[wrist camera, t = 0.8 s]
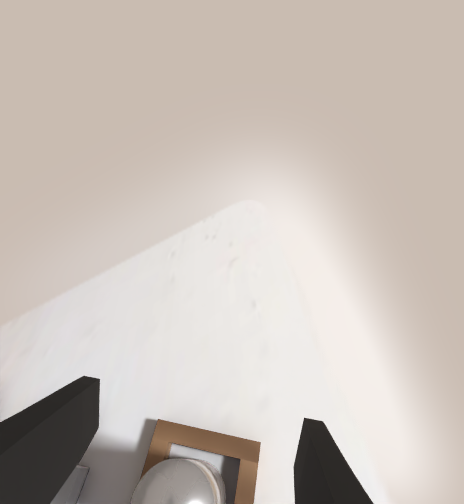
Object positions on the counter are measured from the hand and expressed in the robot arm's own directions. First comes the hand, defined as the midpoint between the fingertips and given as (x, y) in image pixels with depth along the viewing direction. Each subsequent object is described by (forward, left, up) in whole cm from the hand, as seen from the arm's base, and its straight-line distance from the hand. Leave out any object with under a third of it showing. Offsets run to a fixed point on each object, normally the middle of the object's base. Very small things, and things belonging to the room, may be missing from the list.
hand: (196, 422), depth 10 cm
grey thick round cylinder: (-3, +1, -14) cm, 15 cm away
